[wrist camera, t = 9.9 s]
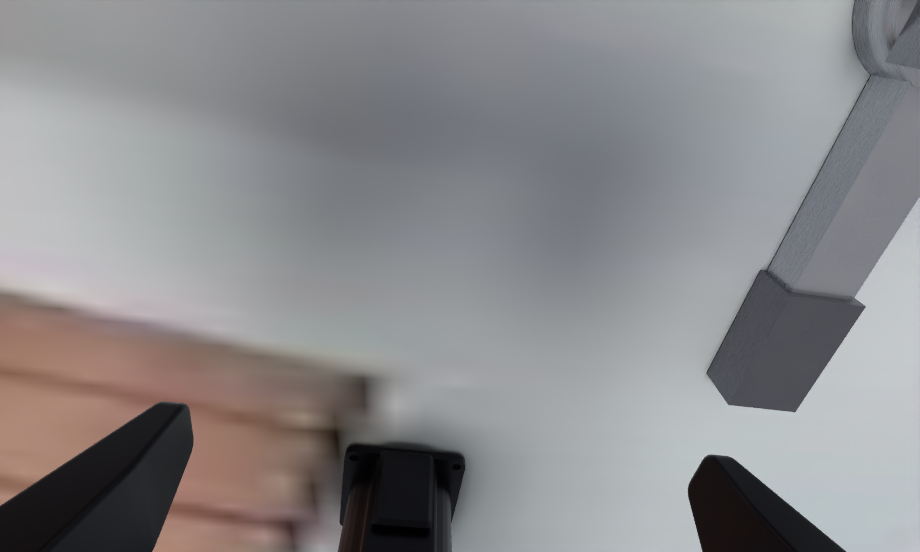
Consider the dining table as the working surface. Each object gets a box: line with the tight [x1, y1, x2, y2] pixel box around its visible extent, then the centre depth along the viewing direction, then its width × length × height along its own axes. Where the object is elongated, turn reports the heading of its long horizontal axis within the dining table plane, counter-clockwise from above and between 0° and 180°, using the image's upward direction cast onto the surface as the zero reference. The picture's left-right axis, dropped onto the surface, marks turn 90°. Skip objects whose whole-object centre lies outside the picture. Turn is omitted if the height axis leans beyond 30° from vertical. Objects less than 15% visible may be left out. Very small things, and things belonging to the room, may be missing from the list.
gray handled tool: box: [707, 0, 920, 412], centre depth 18 cm, size 21×7×6 cm, turn 171°
